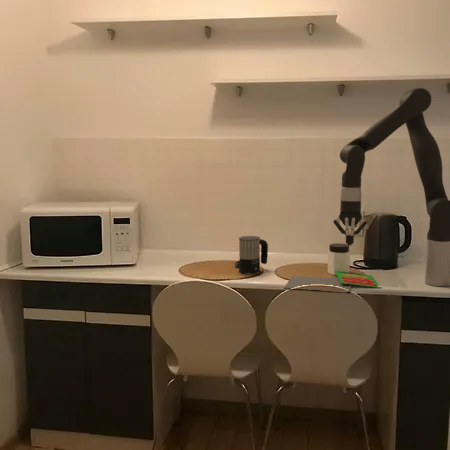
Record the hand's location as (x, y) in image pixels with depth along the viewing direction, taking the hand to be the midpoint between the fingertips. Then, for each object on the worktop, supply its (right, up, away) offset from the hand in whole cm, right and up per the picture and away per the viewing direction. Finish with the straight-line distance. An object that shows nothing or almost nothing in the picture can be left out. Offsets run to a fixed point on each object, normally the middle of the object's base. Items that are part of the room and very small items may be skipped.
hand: (349, 244), depth 220 cm
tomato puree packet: (+4, -15, 0) cm, 16 cm away
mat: (-11, -15, +5) cm, 19 cm away
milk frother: (-38, -12, +31) cm, 50 cm away
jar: (+1, -13, +24) cm, 27 cm away
